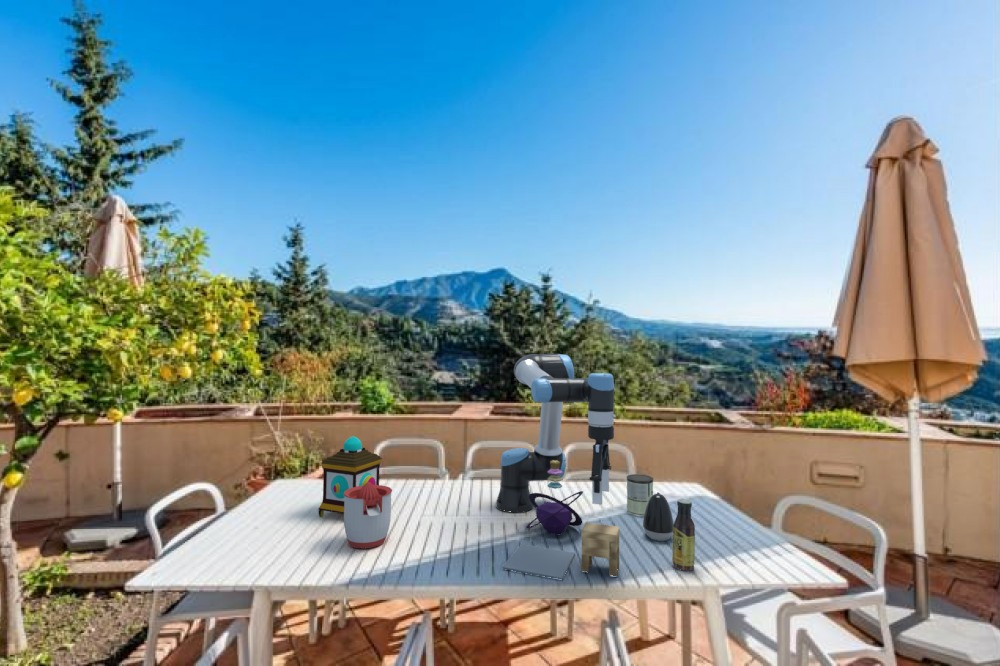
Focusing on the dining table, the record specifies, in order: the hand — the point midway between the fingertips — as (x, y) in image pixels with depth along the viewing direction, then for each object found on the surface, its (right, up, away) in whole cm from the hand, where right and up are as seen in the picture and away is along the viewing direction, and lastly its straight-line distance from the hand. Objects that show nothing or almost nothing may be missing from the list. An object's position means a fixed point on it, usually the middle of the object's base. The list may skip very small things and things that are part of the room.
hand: (601, 497), depth 140 cm
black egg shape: (+25, -23, +24) cm, 41 cm away
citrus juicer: (-74, -21, +16) cm, 79 cm away
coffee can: (+26, -24, +50) cm, 61 cm away
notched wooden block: (0, -21, -1) cm, 21 cm away
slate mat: (-18, -21, +4) cm, 28 cm away
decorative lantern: (-89, -22, +45) cm, 102 cm away
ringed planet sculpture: (-10, -23, +29) cm, 38 cm away
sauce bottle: (+25, -22, +1) cm, 33 cm away
